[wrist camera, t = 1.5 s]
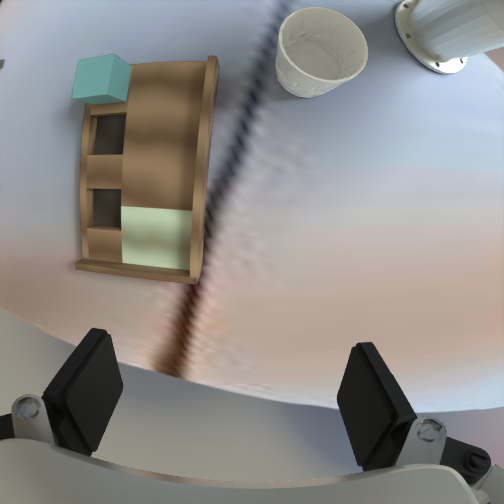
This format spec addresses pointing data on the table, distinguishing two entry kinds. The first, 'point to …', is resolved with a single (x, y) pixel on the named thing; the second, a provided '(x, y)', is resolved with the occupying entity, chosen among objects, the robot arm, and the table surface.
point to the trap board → (149, 173)
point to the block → (102, 80)
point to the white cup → (318, 51)
